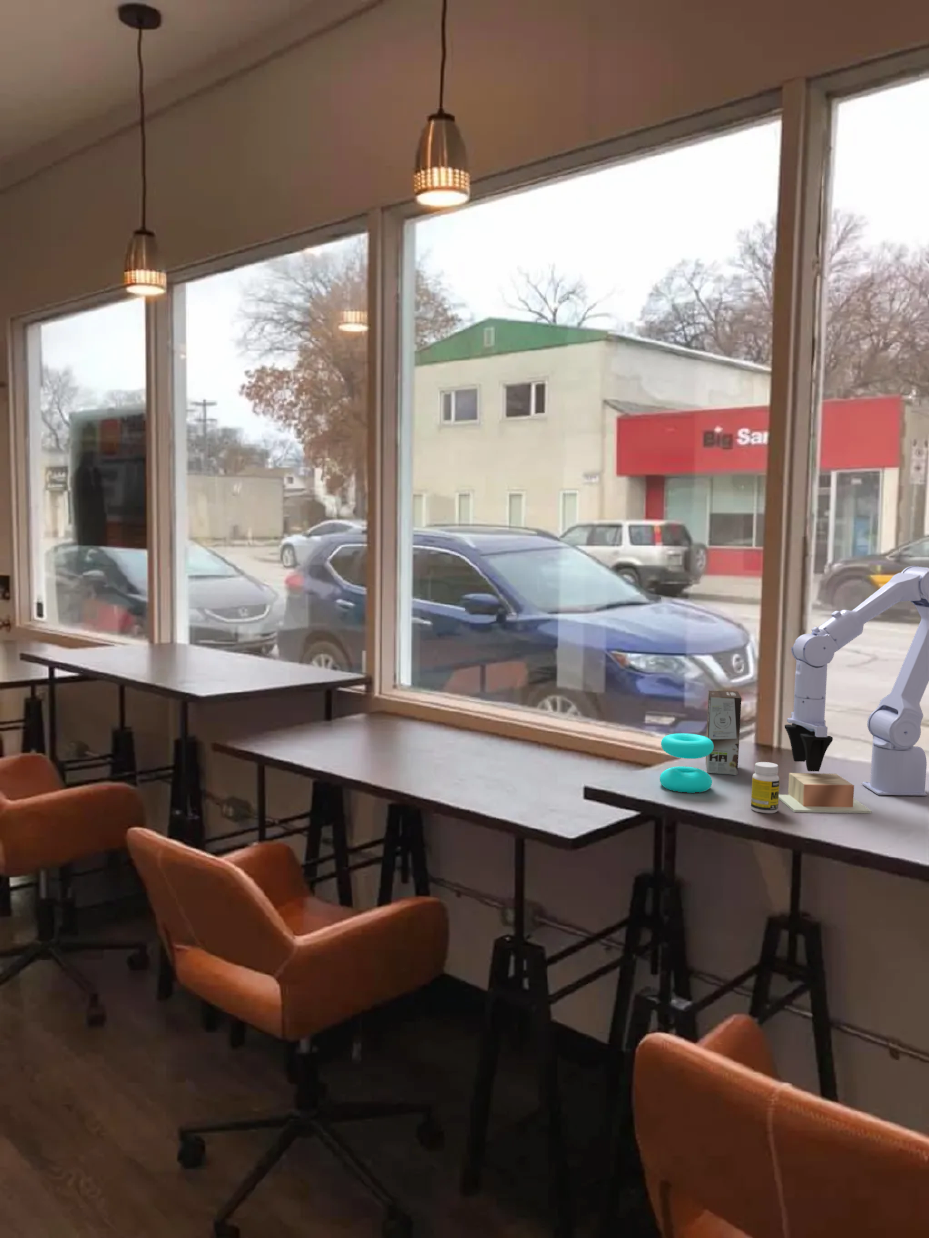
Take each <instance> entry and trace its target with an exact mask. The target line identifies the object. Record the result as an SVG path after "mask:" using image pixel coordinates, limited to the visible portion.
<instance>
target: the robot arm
mask: <svg viewBox="0 0 929 1238" xmlns="http://www.w3.org/2000/svg"><path fill="white" fill-rule="evenodd" d="M899 602H900V603H901V602H910V603H912V605H914V607H915V609H916V611H917V613H918V614H919V616H920V618H921V619H920V622H919V624H918V626H917V629H916V631H915V633H914V636H913V639H912V640H911V643H910V646H909V648H908V651H907V652H906V655H905V658H904V660H903V663H902V664H901V667H900V670H899V672H898V675H897V677H896V680H895V681H894V684H893V687H892V689H891V692H889V694H887V695H885V696H884V697H883V698H882V699H881V700H880V702H879V704H878V705H877V707H876V708H875V709H874V710H873V711H872V712H871V713H870V714H869V716H868V717H867V722H866V723H867V724H866V725H867V726H866V727H867V729H868V732H869V733H870V735H871V736H872V746H871V747H872V749H871V763H870V780H869V781H862V783H861V785H863V786H864V787H865V788H867V789H868V790H870V791H872V792H873V793H875V794H876V795H879V796H921V797H923V796H927V792H926V780H927V779H926V778H927V765H928V764H927V763H928V762H927V756H926V753H925V750H924V749H923V748H922V747H921V746H919V745H918V746H915V745H916V744H917V743H918V742H919V740H920V738H921V733H922V731H921V729H922V728H921V726H922V720H923V718H924V713H923V710H922V706H921V701H922V699H923V696H924V693H925V691H926V688H927V686H928V684H929V567H923V566H920V565H919V566H918V565H910V566H907V567H905V568H904V569H903V570H902V571H901V572H897V573H896V574H894V575H892V577H891V578H890V580H888V582H886V583H885V584H884V585H882V586H881V587H880V588H879V589H878V590H876V591H875V592H874V593H872V594H871V595H869V597H867V598H866V599H865V600H863V601H862V602H861V603H860V604H858V605H857V606H856V607H855V608H853V609H852V610H848V609H841V610H835V611H833V612H832V613H831V614H830V615H831V617H830V618H829V619H827V620H825V621H824V622H823V623H822V624H820V625H819V626H813V627H812V628H811V633H804V634H801V635H799V636H798V637H797V638H796V639H795V641H794V643H793V646H791V647H790V651H791V654H792V657H793V658H794V659H795V661H796V662H795V675H794V676H795V677H794V690H793V691H794V692H793V693H794V696H793V698H794V699H793V711H791V712H790V717H787V718H786V722H787V723H789V724H784V729H785V731H786V733H787V735H788V739H789V742H790V747H791V752H792V754H791V755H792V758H793V761H794V762H802V763H804V762H805V766H806V770H807V771H808V772H820V770H821V767H822V764H823V760H824V757H825V755H826V752H827V750H828V748H829V746H831V744H832V742H833V740H834V738H833V736H831V735H828V726H827V725H826V719H825V717H826V716H825V715H826V698H827V696H826V695H827V678H828V664H830V663H832V660H833V659H834V657H835V653H836V652H838V651H840V650H841V649H843V647H845V646H846V645H848V644H850V642H852V641H853V640H855V639H856V638H858V637H859V636H860V635H862V633H863V632H864V627H865V626H864V625H865V624H867V623H868V622H869V621H871V620H872V619H874V618H876V617H877V616H879V615H881V614H882V613H883V612H886V611H887V610H889V609H890V608H891V607H893V606H895V605H896V604H897V603H899Z"/></svg>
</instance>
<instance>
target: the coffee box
mask: <svg viewBox="0 0 929 1238" xmlns="http://www.w3.org/2000/svg"><path fill="white" fill-rule="evenodd" d="M707 694H708V695H707V714H706V716H707V717H706V737H707V738H709V739H710V740H711V741H712V742H713V745H714V748H713V751H712V752H711V753H710V754H709V755H708V756H706V757H705V768H706V772H707V773H708V774H717V775H718V774H719V775H729V776H730V775H732V776H737V775H738V769H739V753H740V734H741V732H740V731H741V718H742V717H741V714H742V697H741V695H740V693H739V691H737V690H736V691H735V690H708V691H707Z"/></svg>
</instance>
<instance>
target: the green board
mask: <svg viewBox="0 0 929 1238" xmlns="http://www.w3.org/2000/svg"><path fill="white" fill-rule="evenodd" d="M778 800H779V801H780V802H782V803H783V804H784V805H785V806H786V807H788V808H789V809H790V810H791V811H792V812H793V813H830V814H831V813H834V814H835V813H836V814H837V813H838V814H839V813H840V814H843V813H845V814H872V811H873V810H871V809H870V808H869V807H867V806H866V805H864V804H862V803H861V802H860V801H858V800H857V799H855V798H854V797H853V807H811V806H803V805H801V804H800V803H799V802H798V801H797V800H795V799H794V798H793V797H792V796H790V795H789V794H779V799H778Z"/></svg>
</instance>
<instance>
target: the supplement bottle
mask: <svg viewBox="0 0 929 1238" xmlns="http://www.w3.org/2000/svg"><path fill="white" fill-rule="evenodd" d="M754 763H755V762H754ZM754 772H755V773H753V774H752V776H751V777H752V778H751V795H750V796H751V798H750V808H751V810H752V811H754V812H755V813H756V812H757V813H761V814H762V813H763V814H775V813H777V812H778V811H779V800H780V799H779V795H780V776H779V775H778V773H779V765H778V764H777V763H773V762H768V761H767V762H766V761H760V762H759V761H758V762H756V763H755V764H754Z"/></svg>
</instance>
